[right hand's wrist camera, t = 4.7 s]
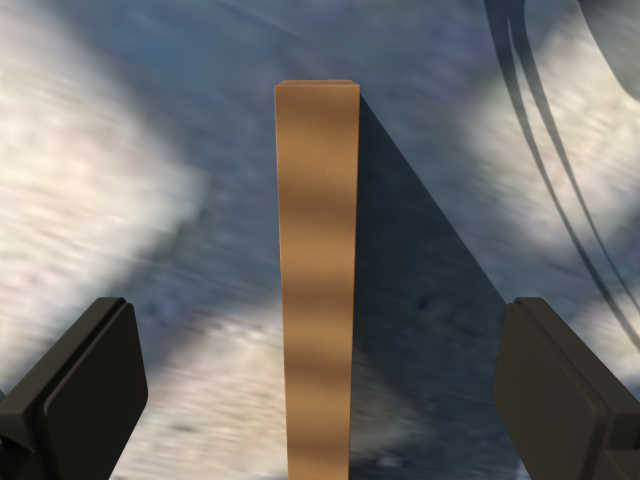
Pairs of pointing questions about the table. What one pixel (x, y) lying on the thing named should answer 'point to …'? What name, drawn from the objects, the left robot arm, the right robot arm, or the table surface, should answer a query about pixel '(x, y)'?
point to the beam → (317, 268)
